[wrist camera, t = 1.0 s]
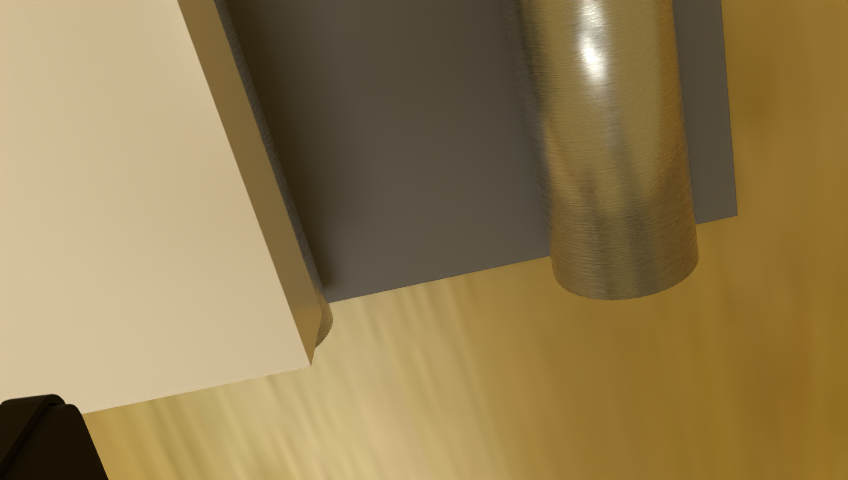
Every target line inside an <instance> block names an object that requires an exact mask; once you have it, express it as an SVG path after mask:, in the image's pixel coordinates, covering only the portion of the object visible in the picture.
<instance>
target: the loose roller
mask: <svg viewBox="0 0 848 480" xmlns="http://www.w3.org/2000/svg"><path fill="white" fill-rule="evenodd" d="M501 5H502V11H503V16H504V21H505V26H506V31H507V36H508V41H509V46H510V52H511V57H512V62H513V67H514V72H515V77H516V82H517V88H518V93H519V98H520V103H521V108H522V113H523V118H524V124H525V129H526V134H527V139H528V144H529V149H530V154H531V159H532V165H533V170H534V175H535V180H536V185H537V190H538V195H539V201H540V206H541V211H542V216H543V221H544V226H545V231H546V237H547V242H548V247H549V252H550V257H551V262H552V267H553V273H554V276H555V279H556V280H557V282H558V283H559V284H560V285H561V286H562V287H563V288H565V289H566V290H567V291H570V292H572V293H574V294H577V295H579V296H583V297H587V298H593V299H601V300H622V299H632V298H638V297H643V296H648V295H651V294H655V293H658V292H661V291H663V290H666V289H668V288H670V287H672V286H674V285H676V284H678V283H679V282H681V281H682V280H684V279H685V278H686V277H688V276H689V275H690V274H691V273H692V272H693V270H694V269H695V267H696V265H697V263H698V258H699V255H698V245H697V236H696V226H695V216H694V207H693V197H692V187H691V178H690V168H689V159H688V149H687V139H686V130H685V120H684V110H683V101H682V91H681V82H680V72H679V62H678V53H677V43H676V33H675V24H674V14H673V5H672V0H501Z"/></svg>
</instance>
